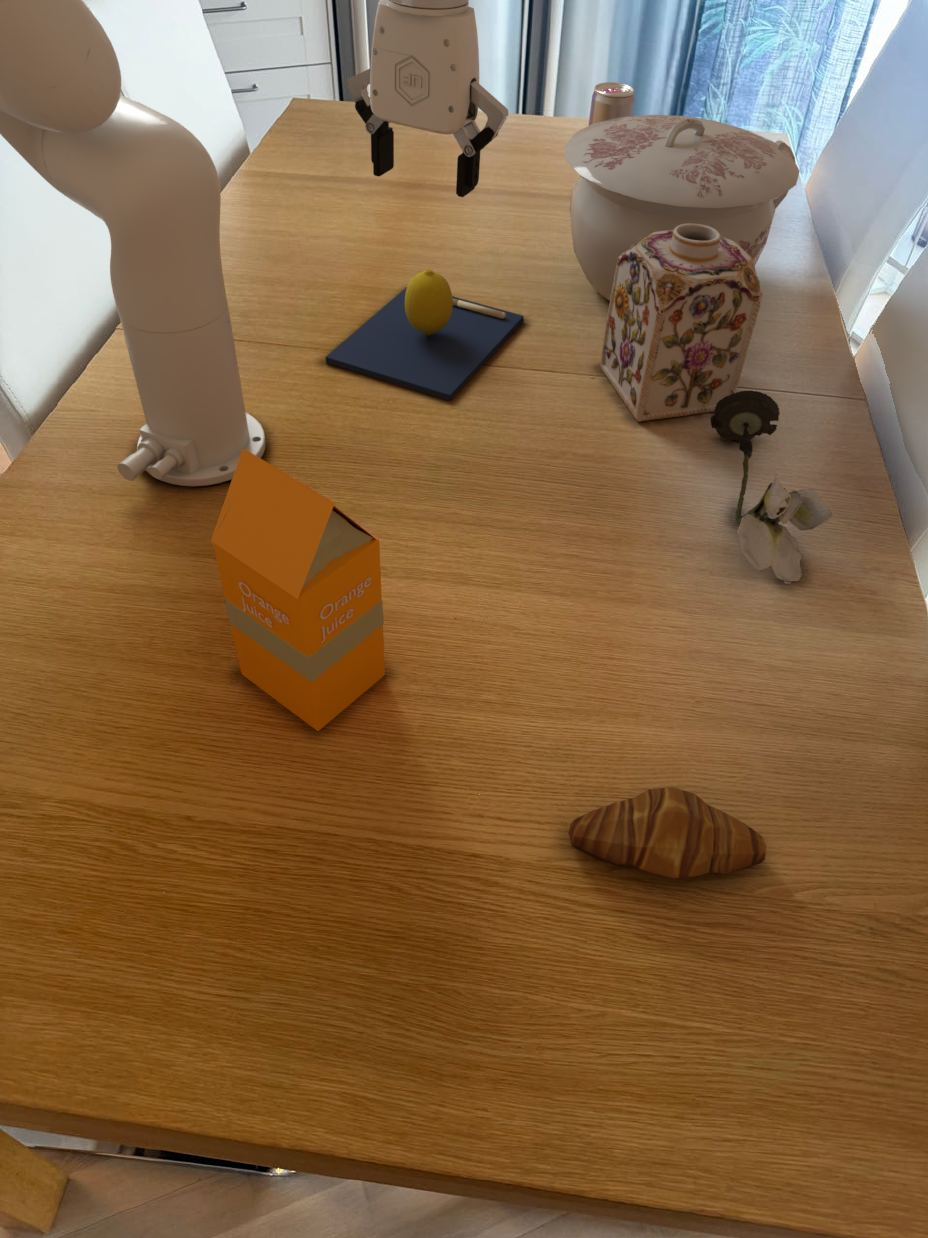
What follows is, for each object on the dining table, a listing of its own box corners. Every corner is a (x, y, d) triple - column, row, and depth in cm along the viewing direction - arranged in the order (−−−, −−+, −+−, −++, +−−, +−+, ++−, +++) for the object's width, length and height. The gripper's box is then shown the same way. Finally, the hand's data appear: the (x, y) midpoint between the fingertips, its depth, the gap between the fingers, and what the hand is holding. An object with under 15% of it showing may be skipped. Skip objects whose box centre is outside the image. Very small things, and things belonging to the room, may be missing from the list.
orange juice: (309, 621, 78) (284, 422, 64) (387, 674, 75) (378, 475, 60) (238, 675, 74) (194, 474, 59) (316, 734, 70) (289, 535, 56)
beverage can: (572, 192, 142) (585, 83, 131) (606, 187, 143) (621, 79, 133) (592, 207, 138) (607, 97, 127) (626, 202, 140) (644, 92, 129)
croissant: (754, 815, 67) (773, 776, 63) (767, 903, 62) (789, 866, 58) (566, 798, 67) (575, 758, 63) (566, 884, 62) (574, 846, 59)
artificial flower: (776, 450, 99) (832, 382, 91) (780, 615, 86) (845, 551, 78) (701, 422, 98) (750, 350, 90) (692, 584, 85) (750, 517, 77)
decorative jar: (634, 425, 100) (667, 263, 87) (595, 367, 107) (620, 211, 94) (735, 411, 102) (781, 252, 89) (689, 356, 110) (726, 202, 97)
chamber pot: (532, 325, 113) (549, 146, 98) (568, 231, 132) (587, 69, 117) (764, 361, 110) (818, 181, 95) (767, 259, 128) (814, 95, 113)
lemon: (454, 324, 111) (455, 260, 106) (449, 348, 108) (450, 283, 102) (408, 321, 112) (407, 256, 106) (401, 345, 108) (400, 279, 102)
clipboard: (450, 401, 102) (450, 388, 100) (325, 362, 106) (324, 350, 105) (523, 321, 114) (524, 309, 113) (409, 289, 119) (409, 278, 118)
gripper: (324, -21, 84) (333, 175, 96) (496, 11, 79) (483, 213, 92) (366, -35, 89) (370, 154, 101) (531, -6, 84) (514, 188, 96)
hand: (424, 182), depth 96 cm, fingers open, 9 cm apart
